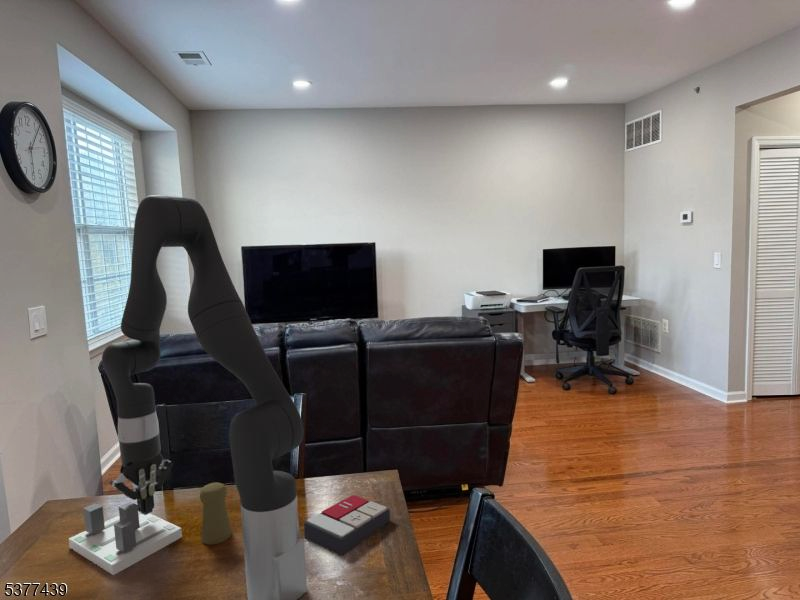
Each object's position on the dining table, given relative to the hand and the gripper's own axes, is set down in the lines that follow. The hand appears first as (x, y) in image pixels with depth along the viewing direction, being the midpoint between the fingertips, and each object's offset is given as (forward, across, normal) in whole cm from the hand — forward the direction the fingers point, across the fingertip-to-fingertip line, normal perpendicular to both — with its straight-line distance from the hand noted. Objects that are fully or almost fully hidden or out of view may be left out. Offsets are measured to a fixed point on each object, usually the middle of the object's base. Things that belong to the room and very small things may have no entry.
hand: (146, 512), depth 106 cm
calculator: (+5, +22, -37) cm, 43 cm away
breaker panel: (+4, -5, 0) cm, 6 cm away
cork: (+4, +6, -14) cm, 16 cm away
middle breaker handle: (+2, -4, 0) cm, 4 cm away
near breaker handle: (+2, -8, -6) cm, 10 cm away
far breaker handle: (+2, -8, +6) cm, 10 cm away
